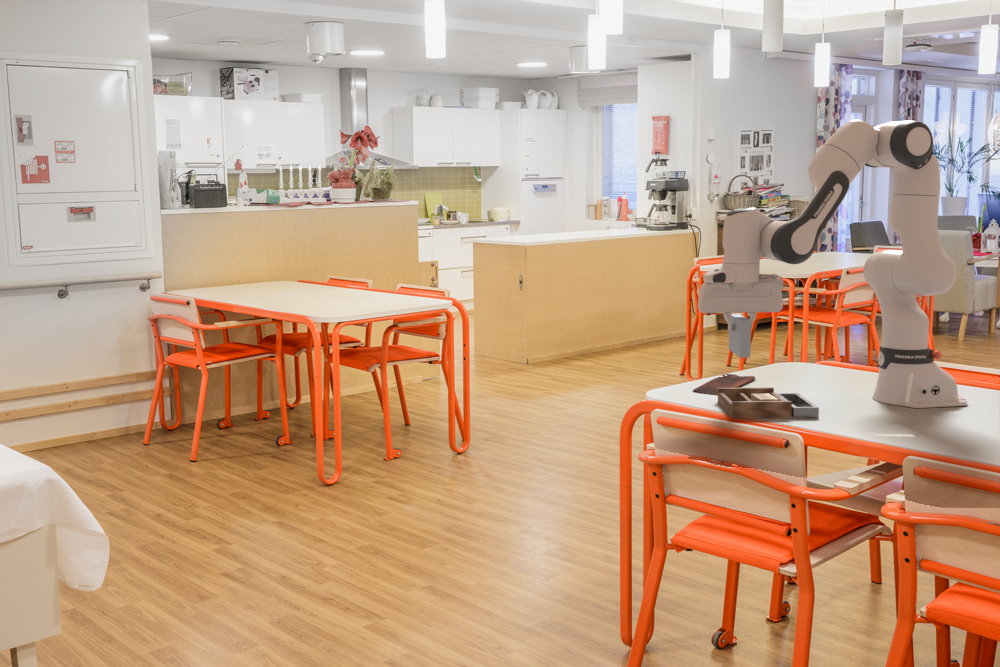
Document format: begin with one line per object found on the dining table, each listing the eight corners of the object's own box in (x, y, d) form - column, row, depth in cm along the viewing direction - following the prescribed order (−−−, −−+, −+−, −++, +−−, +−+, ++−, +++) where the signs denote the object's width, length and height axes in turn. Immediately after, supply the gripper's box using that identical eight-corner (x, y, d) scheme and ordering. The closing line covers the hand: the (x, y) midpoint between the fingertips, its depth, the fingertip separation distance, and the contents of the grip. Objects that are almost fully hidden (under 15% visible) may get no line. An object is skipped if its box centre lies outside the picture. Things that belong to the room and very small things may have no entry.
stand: (797, 402, 242) (797, 393, 242) (818, 417, 225) (818, 407, 225) (774, 402, 242) (774, 393, 242) (793, 418, 225) (793, 407, 225)
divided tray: (772, 402, 242) (772, 387, 242) (791, 418, 225) (791, 401, 225) (717, 403, 242) (718, 387, 242) (732, 418, 226) (733, 402, 225)
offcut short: (768, 401, 238) (768, 393, 237) (778, 407, 231) (778, 399, 230) (750, 401, 237) (751, 393, 237) (760, 407, 230) (760, 399, 230)
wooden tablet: (721, 391, 249) (687, 383, 255) (720, 399, 249) (686, 391, 255) (758, 376, 270) (725, 369, 276) (757, 383, 271) (724, 376, 276)
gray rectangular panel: (738, 349, 238) (739, 314, 236) (750, 357, 226) (751, 320, 225) (728, 349, 238) (729, 314, 237) (739, 357, 226) (740, 320, 225)
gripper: (779, 272, 232) (778, 328, 234) (696, 274, 232) (696, 329, 234) (787, 274, 226) (785, 331, 228) (701, 276, 226) (701, 333, 228)
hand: (739, 330), depth 231 cm, fingers closed on gray rectangular panel, 2 cm apart
